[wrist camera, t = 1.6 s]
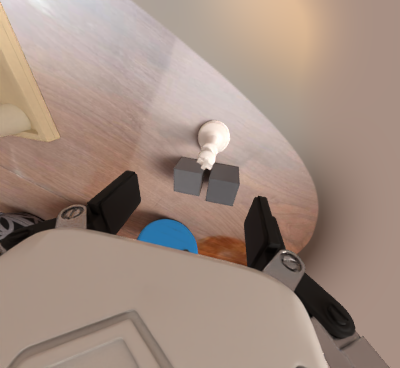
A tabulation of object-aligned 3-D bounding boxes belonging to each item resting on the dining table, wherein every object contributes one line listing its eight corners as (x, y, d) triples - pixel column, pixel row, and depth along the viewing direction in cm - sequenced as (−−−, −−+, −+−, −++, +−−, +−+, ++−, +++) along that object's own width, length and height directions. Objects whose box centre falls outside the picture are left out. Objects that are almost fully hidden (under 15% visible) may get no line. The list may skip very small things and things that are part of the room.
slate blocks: (181, 156, 26) (172, 171, 22) (238, 166, 25) (239, 184, 21) (181, 177, 29) (172, 194, 25) (232, 187, 28) (232, 206, 24)
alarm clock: (148, 222, 39) (109, 286, 27) (155, 208, 35) (113, 275, 23) (192, 243, 41) (175, 313, 28) (203, 231, 37) (188, 306, 25)
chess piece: (218, 157, 25) (211, 194, 17) (192, 141, 24) (172, 172, 16) (236, 132, 22) (238, 161, 14) (208, 113, 22) (193, 133, 14)
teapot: (53, 252, 62) (10, 294, 50) (-18, 195, 46) (-107, 235, 34) (88, 255, 57) (49, 302, 45) (22, 191, 41) (-66, 237, 29)
